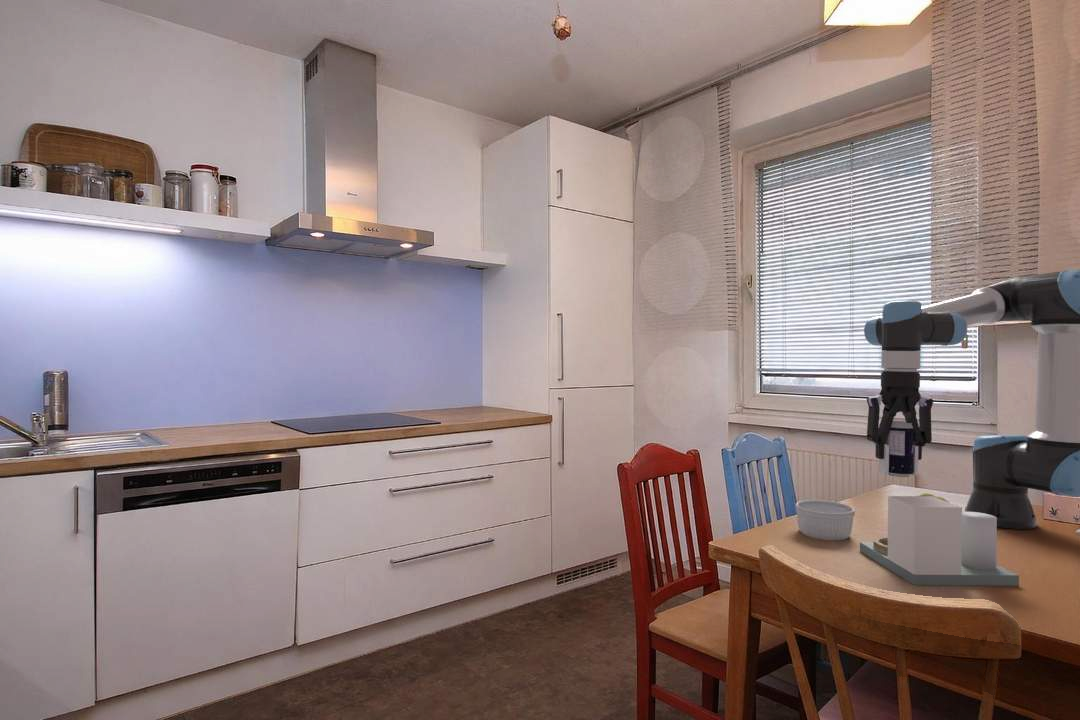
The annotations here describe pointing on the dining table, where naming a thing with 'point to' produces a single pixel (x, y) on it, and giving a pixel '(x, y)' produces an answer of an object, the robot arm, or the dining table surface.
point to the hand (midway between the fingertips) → (898, 473)
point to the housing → (925, 535)
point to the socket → (881, 544)
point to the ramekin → (825, 519)
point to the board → (945, 579)
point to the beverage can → (900, 449)
